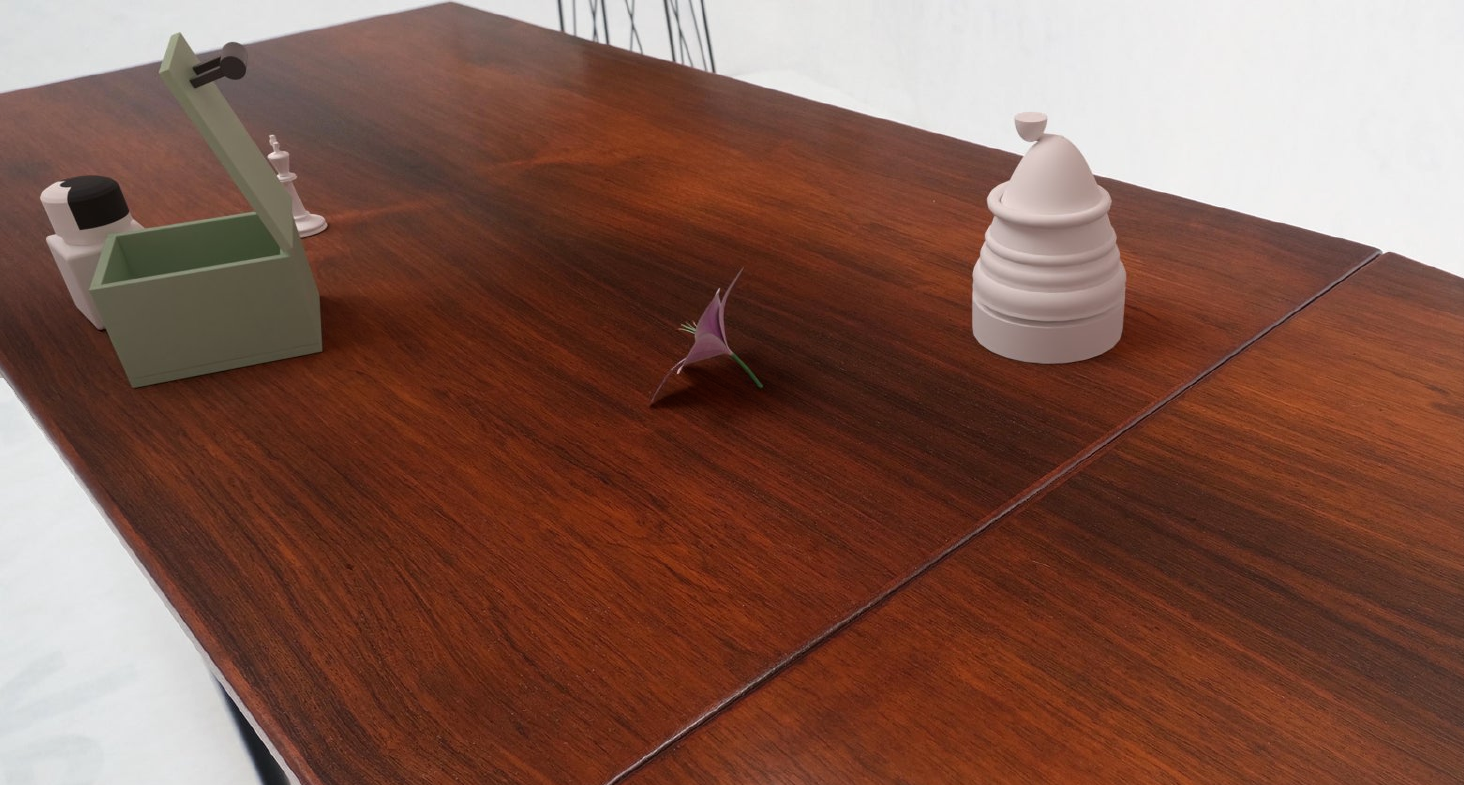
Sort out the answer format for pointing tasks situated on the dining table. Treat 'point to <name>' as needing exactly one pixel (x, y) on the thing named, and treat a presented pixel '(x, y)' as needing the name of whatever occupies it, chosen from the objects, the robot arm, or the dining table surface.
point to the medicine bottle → (84, 231)
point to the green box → (205, 298)
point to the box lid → (228, 129)
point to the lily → (710, 337)
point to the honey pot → (1048, 258)
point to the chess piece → (294, 193)
